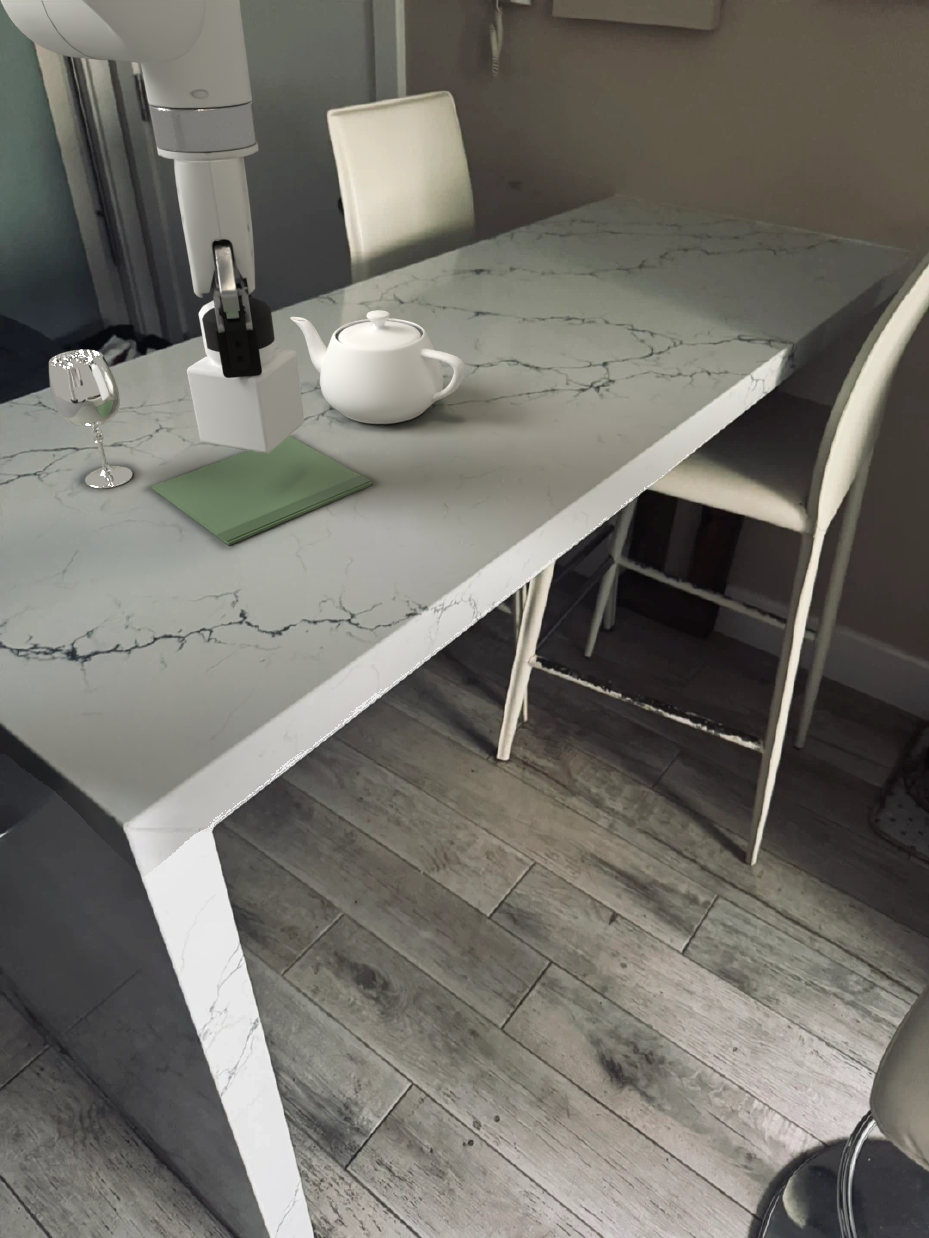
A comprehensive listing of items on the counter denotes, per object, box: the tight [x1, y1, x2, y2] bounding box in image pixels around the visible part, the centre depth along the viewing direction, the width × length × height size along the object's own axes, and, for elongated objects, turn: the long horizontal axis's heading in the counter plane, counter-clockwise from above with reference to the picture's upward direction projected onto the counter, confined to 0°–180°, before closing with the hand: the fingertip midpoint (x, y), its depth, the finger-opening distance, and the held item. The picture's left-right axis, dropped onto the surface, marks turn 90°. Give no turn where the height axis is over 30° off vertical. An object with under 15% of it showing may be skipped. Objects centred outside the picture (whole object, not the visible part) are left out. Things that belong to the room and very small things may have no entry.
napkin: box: [151, 435, 373, 546], centre depth 84 cm, size 16×14×1 cm
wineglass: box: [48, 349, 134, 489], centre depth 82 cm, size 6×6×12 cm
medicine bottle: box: [186, 297, 305, 454], centre depth 77 cm, size 7×7×12 cm
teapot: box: [289, 309, 466, 425], centre depth 96 cm, size 22×14×11 cm, turn 63°
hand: (241, 356), depth 77 cm, fingers closed on medicine bottle, 7 cm apart
